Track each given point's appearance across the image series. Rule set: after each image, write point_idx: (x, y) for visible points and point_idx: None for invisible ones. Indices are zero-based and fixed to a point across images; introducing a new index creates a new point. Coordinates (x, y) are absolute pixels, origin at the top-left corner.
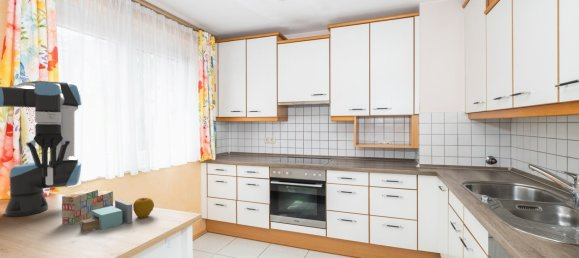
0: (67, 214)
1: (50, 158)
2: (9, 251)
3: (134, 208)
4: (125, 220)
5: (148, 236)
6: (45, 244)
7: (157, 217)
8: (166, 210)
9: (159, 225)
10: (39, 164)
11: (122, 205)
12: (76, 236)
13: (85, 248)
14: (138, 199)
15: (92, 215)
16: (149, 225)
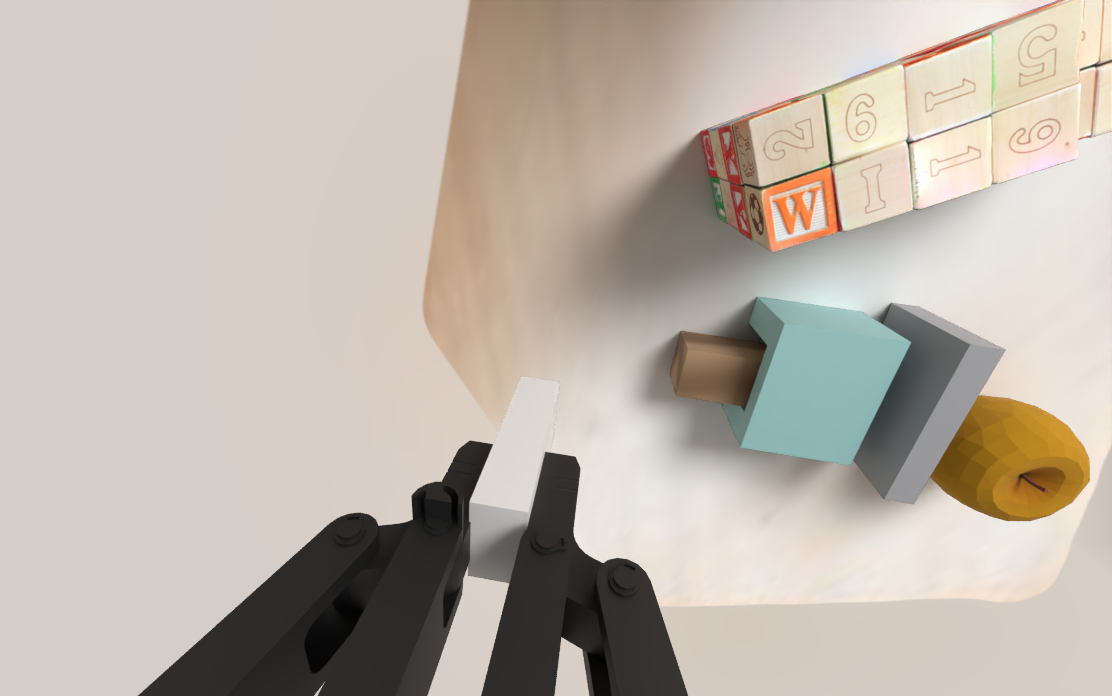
0: (720, 174)
1: (488, 675)
2: (429, 322)
3: None
4: None
5: (743, 589)
6: (525, 366)
7: None
8: (1096, 442)
9: (854, 555)
10: (347, 623)
11: (904, 436)
12: (626, 387)
13: (582, 506)
14: (1023, 468)
15: (770, 327)
16: (841, 525)
